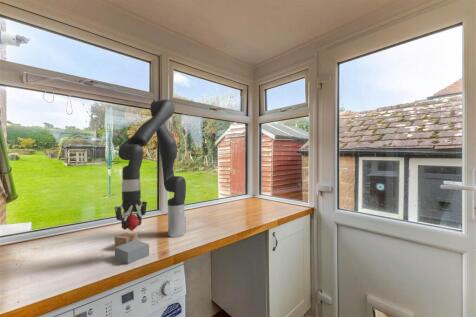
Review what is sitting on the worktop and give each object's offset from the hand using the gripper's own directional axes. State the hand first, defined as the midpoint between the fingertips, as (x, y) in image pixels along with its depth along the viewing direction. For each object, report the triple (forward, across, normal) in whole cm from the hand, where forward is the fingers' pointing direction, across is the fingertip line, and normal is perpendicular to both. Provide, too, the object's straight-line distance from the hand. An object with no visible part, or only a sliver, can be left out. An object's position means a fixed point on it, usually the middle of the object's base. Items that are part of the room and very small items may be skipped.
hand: (131, 227), depth 99 cm
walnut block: (+13, -5, -13) cm, 19 cm away
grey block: (+13, 0, 0) cm, 13 cm away
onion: (+2, 0, 0) cm, 2 cm away
